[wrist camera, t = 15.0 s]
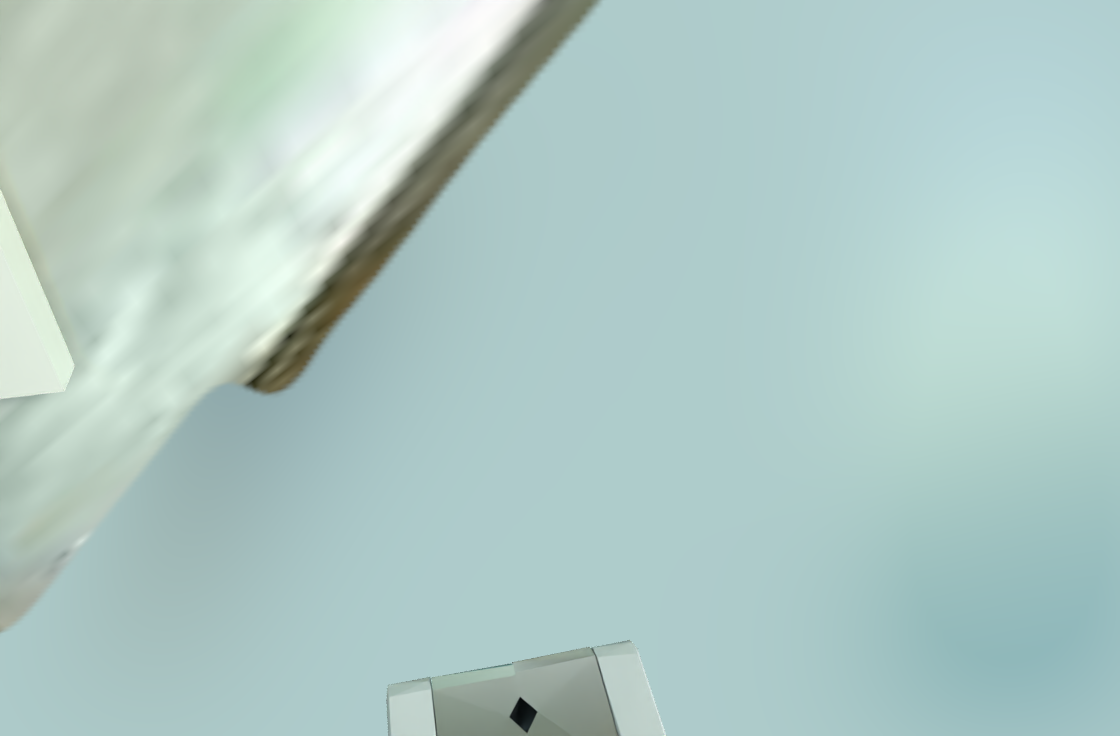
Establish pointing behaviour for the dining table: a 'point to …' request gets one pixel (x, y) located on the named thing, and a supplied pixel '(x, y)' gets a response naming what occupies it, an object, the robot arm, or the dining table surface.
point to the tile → (26, 323)
